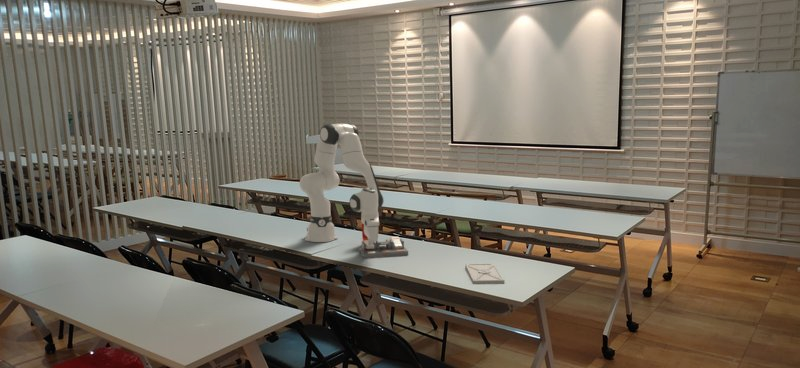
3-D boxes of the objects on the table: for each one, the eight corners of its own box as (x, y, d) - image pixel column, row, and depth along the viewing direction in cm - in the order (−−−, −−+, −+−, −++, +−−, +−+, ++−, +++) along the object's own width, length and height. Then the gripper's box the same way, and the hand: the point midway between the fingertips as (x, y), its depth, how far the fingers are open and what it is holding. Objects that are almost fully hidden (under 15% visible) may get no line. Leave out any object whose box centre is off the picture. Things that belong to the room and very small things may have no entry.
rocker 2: (377, 245, 311) (377, 242, 311) (384, 244, 312) (384, 242, 312) (380, 244, 302) (380, 241, 302) (388, 243, 302) (388, 241, 303)
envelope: (473, 284, 256) (504, 284, 256) (473, 280, 255) (504, 279, 256) (465, 267, 279) (493, 267, 280) (465, 263, 279) (494, 263, 279)
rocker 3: (390, 238, 313) (391, 236, 312) (398, 238, 314) (398, 236, 313) (395, 248, 304) (395, 246, 303) (402, 248, 305) (402, 246, 304)
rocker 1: (363, 242, 310) (363, 240, 309) (370, 242, 310) (370, 239, 310) (366, 248, 300) (366, 246, 300) (374, 248, 301) (374, 245, 301)
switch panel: (359, 251, 310) (359, 240, 309) (401, 248, 315) (401, 237, 314) (364, 257, 296) (364, 246, 295) (408, 254, 302) (408, 244, 301)
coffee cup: (376, 243, 326) (376, 216, 324) (374, 246, 318) (374, 219, 316) (362, 242, 327) (361, 216, 325) (359, 246, 319) (359, 219, 317)
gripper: (360, 216, 308) (361, 242, 310) (367, 223, 288) (368, 251, 290) (372, 215, 309) (373, 241, 311) (380, 222, 290) (380, 250, 291)
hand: (370, 246), depth 300 cm, fingers closed
